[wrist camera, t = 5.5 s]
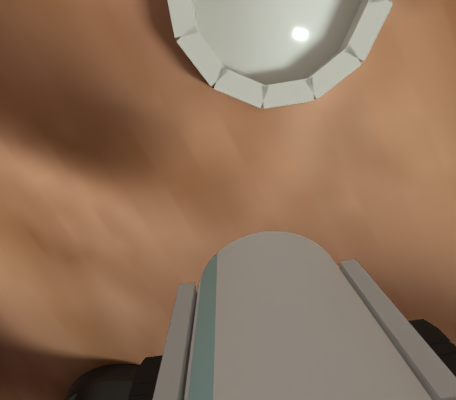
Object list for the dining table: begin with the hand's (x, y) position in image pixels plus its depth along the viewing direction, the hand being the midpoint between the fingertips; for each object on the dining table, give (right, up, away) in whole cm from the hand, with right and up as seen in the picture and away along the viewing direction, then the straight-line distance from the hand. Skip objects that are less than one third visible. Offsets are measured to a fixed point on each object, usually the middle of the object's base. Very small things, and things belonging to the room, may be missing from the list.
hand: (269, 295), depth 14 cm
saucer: (+1, +19, +5) cm, 19 cm away
